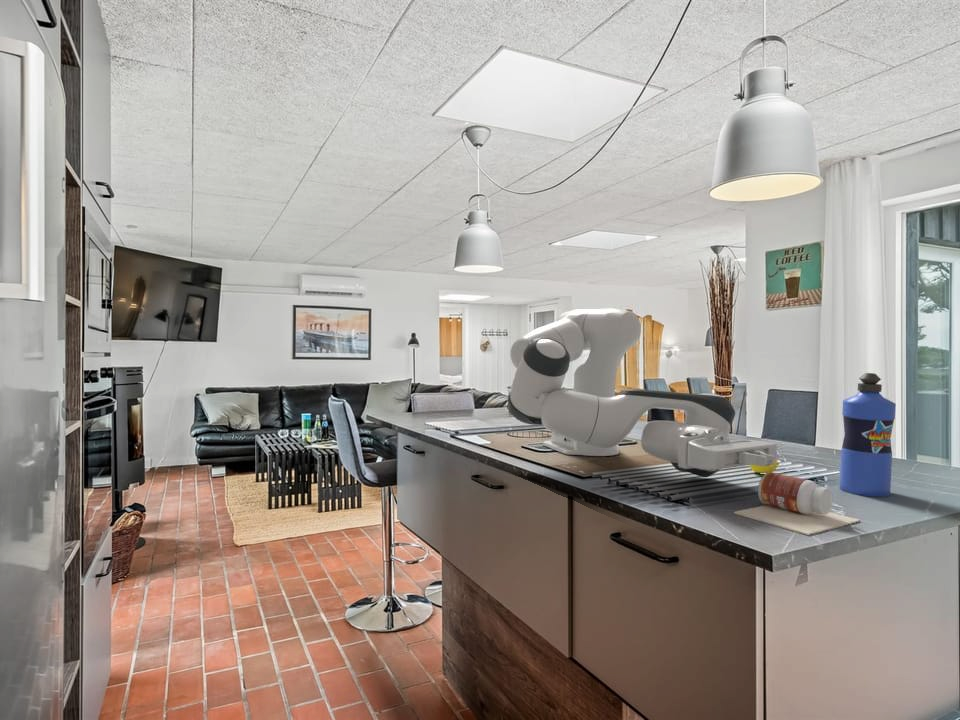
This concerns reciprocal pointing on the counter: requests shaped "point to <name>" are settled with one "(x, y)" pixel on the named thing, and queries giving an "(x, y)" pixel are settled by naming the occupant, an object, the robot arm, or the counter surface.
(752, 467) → the lemon
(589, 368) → the robot arm
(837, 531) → the counter surface
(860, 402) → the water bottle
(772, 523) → the mat
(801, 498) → the pill bottle
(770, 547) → the counter surface
